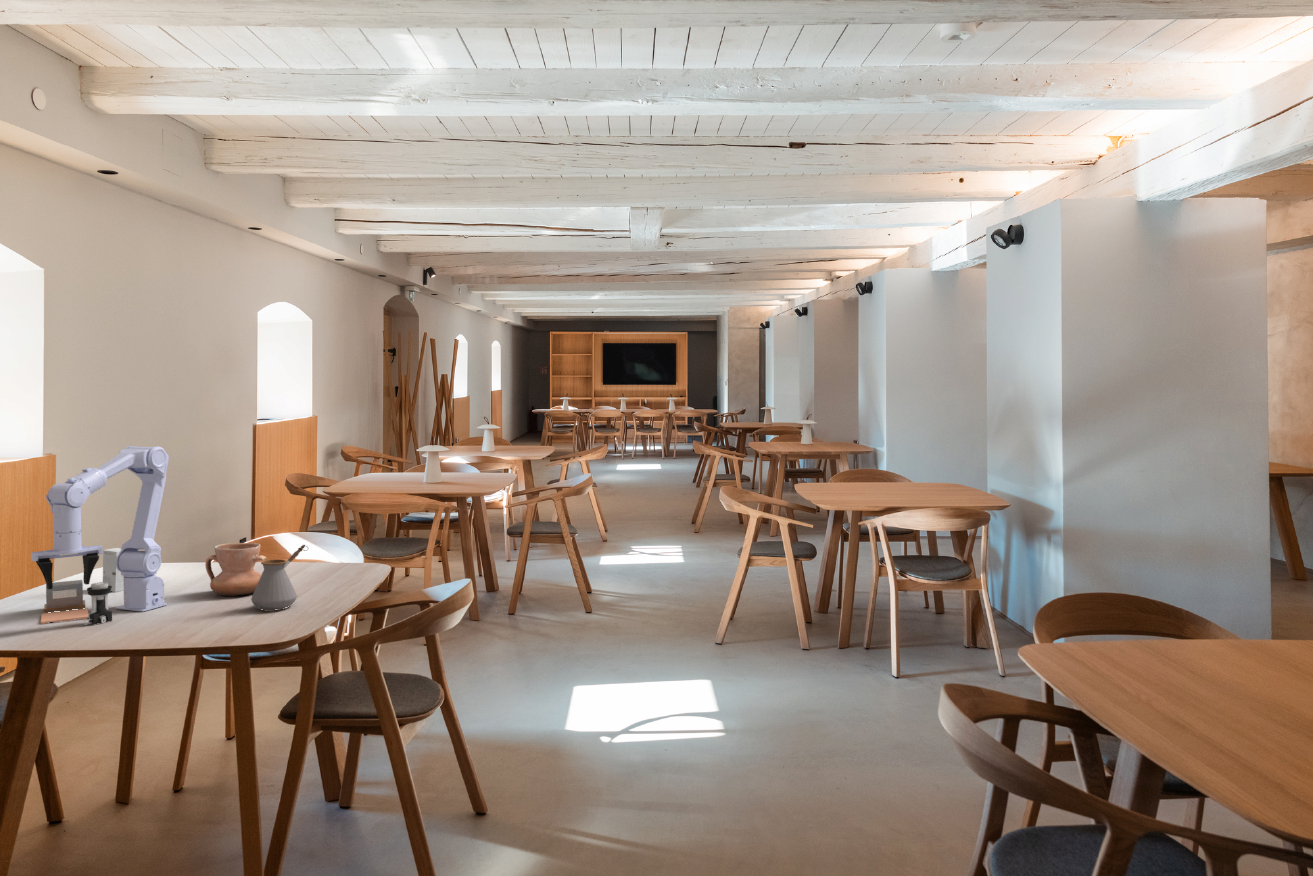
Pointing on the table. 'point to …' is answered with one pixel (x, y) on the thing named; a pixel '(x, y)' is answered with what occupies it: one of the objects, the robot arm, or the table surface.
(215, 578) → the ceramic jug
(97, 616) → the push button
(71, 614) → the terracotta mat
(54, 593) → the wall unit
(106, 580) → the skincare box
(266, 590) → the coffee pot
